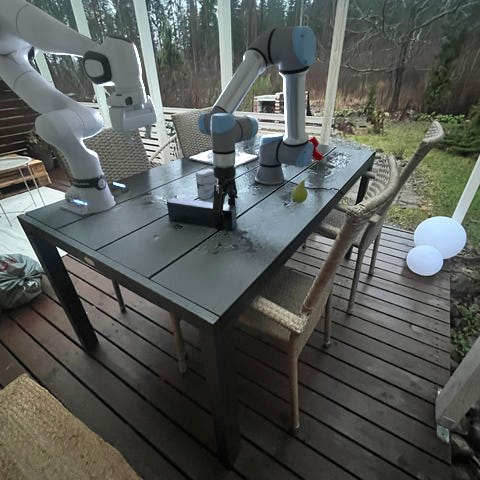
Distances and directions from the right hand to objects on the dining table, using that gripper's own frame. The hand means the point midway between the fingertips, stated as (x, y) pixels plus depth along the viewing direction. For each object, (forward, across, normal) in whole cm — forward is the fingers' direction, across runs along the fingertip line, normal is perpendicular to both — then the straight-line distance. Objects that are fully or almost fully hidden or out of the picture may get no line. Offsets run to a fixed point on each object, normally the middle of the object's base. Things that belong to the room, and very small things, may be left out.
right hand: (226, 221), depth 102 cm
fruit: (+2, -31, +23) cm, 39 cm away
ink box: (+2, -25, -19) cm, 31 cm away
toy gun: (+2, -95, +18) cm, 96 cm away
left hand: (-27, 0, -32) cm, 42 cm away
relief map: (+2, -84, -34) cm, 90 cm away
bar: (+2, 0, -10) cm, 10 cm away
